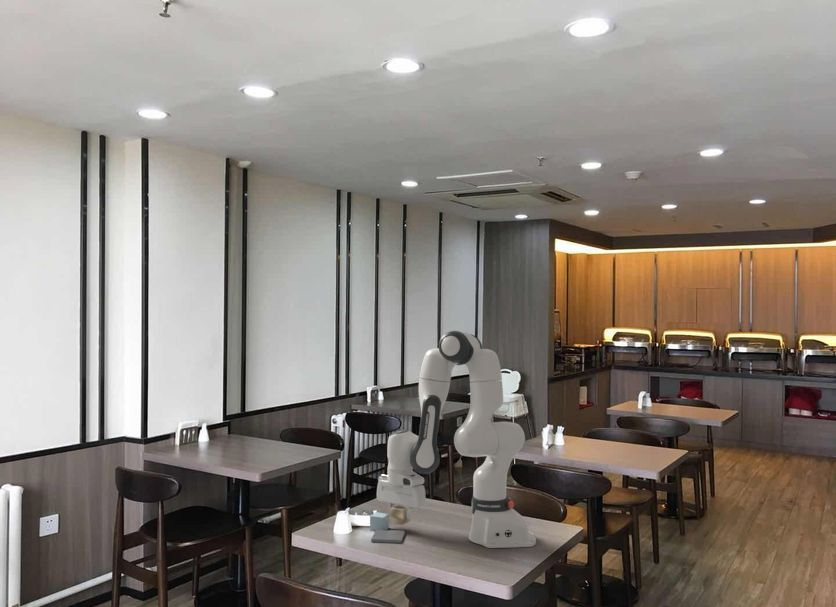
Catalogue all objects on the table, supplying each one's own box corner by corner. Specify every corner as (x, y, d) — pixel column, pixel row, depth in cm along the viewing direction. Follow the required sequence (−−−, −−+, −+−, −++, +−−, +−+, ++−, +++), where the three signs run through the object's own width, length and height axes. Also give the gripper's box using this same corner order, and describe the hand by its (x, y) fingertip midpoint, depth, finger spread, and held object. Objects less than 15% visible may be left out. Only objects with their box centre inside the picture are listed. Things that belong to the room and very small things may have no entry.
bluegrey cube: (388, 528, 239) (389, 513, 239) (383, 532, 234) (383, 517, 234) (376, 526, 241) (376, 512, 241) (370, 530, 236) (370, 516, 236)
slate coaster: (404, 533, 232) (404, 530, 232) (401, 543, 222) (401, 540, 222) (376, 532, 233) (376, 529, 233) (371, 542, 223) (371, 539, 223)
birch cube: (410, 521, 237) (410, 506, 237) (402, 524, 232) (402, 510, 233) (398, 519, 239) (398, 505, 239) (390, 522, 235) (390, 508, 235)
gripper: (372, 474, 241) (372, 514, 240) (416, 482, 228) (416, 523, 227) (384, 472, 246) (385, 510, 245) (428, 479, 233) (428, 519, 232)
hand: (400, 517), depth 236 cm, fingers closed on birch cube, 5 cm apart
